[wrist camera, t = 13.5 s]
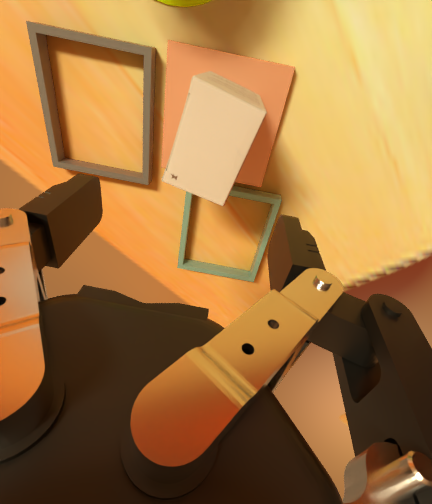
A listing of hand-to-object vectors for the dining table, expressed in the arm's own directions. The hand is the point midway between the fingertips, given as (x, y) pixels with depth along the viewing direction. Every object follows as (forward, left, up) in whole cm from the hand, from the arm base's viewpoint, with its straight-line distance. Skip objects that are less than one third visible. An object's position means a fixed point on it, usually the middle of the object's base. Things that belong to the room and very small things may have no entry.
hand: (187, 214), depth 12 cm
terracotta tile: (0, 0, -21) cm, 21 cm away
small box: (0, 0, -21) cm, 21 cm away
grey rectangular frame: (+13, +2, -21) cm, 25 cm away
